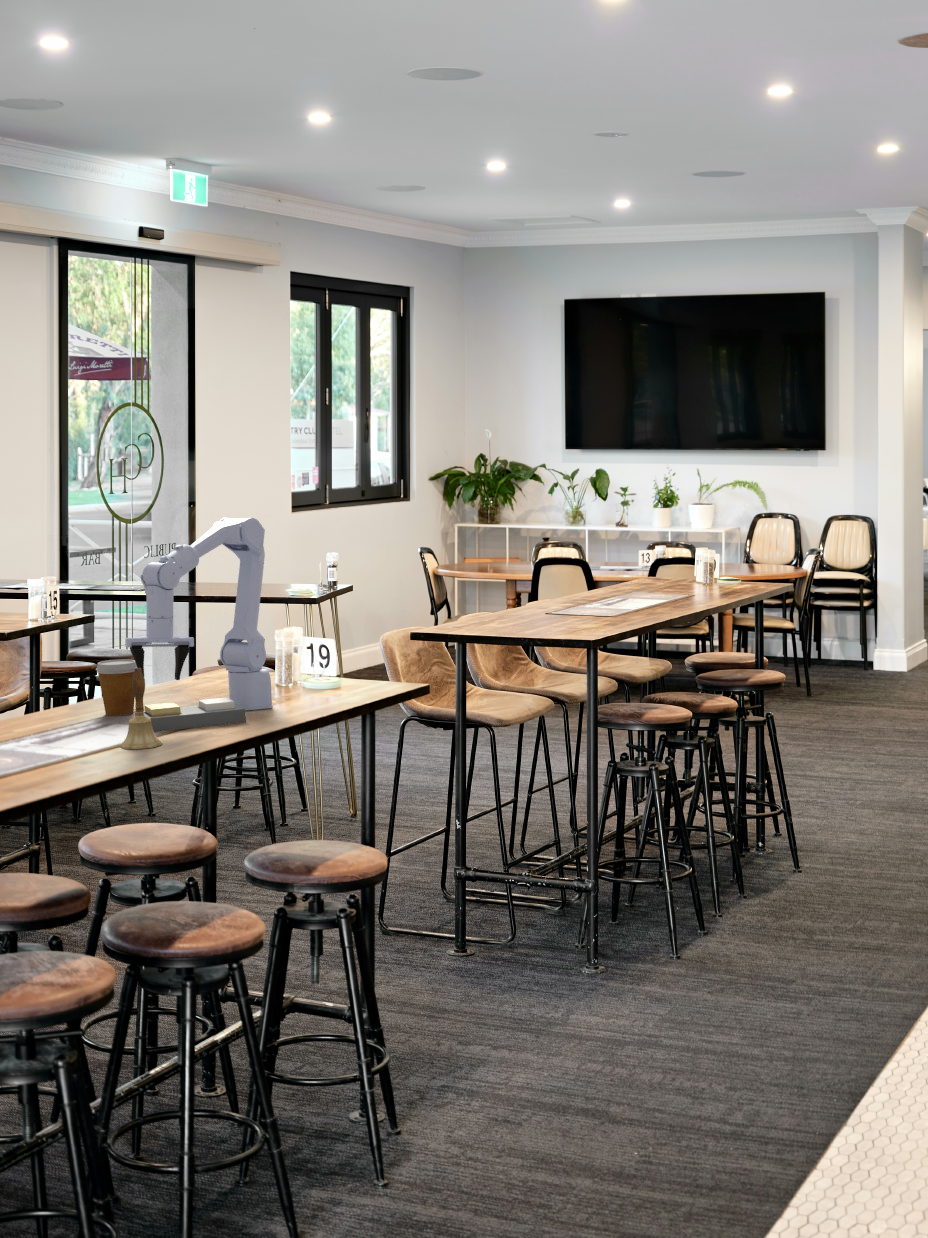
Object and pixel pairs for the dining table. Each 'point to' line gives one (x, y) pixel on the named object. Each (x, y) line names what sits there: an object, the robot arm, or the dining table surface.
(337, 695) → the dining table surface
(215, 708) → the white button
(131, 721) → the hand bell
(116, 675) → the disposable coffee cup
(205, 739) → the dining table surface
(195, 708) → the panel
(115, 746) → the dining table surface
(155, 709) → the brass button
